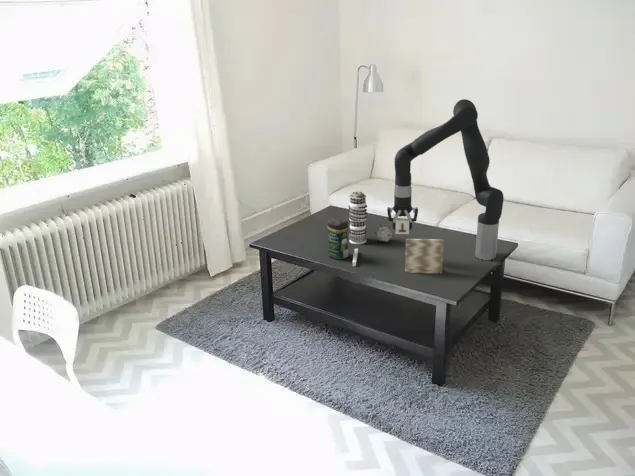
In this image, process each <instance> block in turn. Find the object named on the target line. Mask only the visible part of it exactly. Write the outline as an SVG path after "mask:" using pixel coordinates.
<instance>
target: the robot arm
mask: <svg viewBox="0 0 635 476" xmlns="http://www.w3.org/2000/svg"><path fill="white" fill-rule="evenodd" d="M452 113H453V116H452V117H451V118H450V119H448V120H447V121H446V122H444V123H443V124H441V125H439V126H437V127H435V128H434V127H433V128H431V129H429V130H426V131H425V132H424V133H422V134H420V135H419V136H418V137H417V138H415V139H414V140H413V141H412V142H410V143H408V144H406V145H405V146H403V147H401V148H400V149H399V150H397V152H396V154H395V156H394V173H395V174H394V175H395V176H394V190H393V192H394V193H393V195H394V196H393V197H394V200H393V202H394V204H393V207H391V206H389V207H388V206H387V209H386V210H387V218H388V221H389V222H392V229H393V231H396V220H397V218H398V217H407V218H408V220H409V231H411V230H413V223H415V222H417V218H418V213H419V208H418V206H417V207H413V206H412V195H413V194H412V191H413V190H412V174H411V167H412V166H411V165H412V164H411V162H412V161H413V160H414V159H416V158H417V157H418V156H421V155H422V156H423V154H426V152H428V151H429V150H431V149H433V148H434V147H435V146H437V145H439V144H440V143H441V142H443V141H444V140H446V139H448V138H450V137H452V136H453V135H456V134H458V133H459V132H460V134H461V140H462V145H463V151H464V155H465V159H466V162H467V166H468V168H469V172H470V175H471V179H472V183H473V184H472V185H473V189H474V190H473V191H474V195H475V200H476V203H478V204H479V205H481V206H483V207H485V210H484V211H485V212H481V213H479V215H478V216H477V227H476V228H477V229H476V241H475V242H476V243H475V253H474V254H475V255H474V256H476V257H477V258H476V257H475V258H476V259H478V258H479V259H478V260H481V259H483V260H482V261H492V260H491V259H493V260H495V259H496V258H497V250H498V247H497V246H498V239H499V238H498V235H499V226H500V219H501V217H502V213H503V207H504V206H503V205H504V200H505V199H504V197H505V196H504V193H503V191H502V190H500V189H498V188H496V187H493V186H491V184H490V183H489V179H488V175H487V173H488V170H489V167H490V155H489V152H488V149H487V145H486V142H485V141H484V138H483V135H482V133H481V131H480V128H479V124H478V116H479V113H478V111H477V107H476V105H475V104H474V103H473V102H472V101H471V100H469V99H463V98H462V99H460V100H458V101H457V102H456V103H455V104H454V107H453V111H452ZM393 211H394V213H395V214H394V216H393V217H392V213H393ZM412 211H413V212H412ZM411 212H412V213H414V214H413V217H412V216H411V214H410V213H411ZM494 258H495V259H494Z"/></svg>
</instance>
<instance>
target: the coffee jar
mask: <svg viewBox="0 0 635 476" xmlns="http://www.w3.org/2000/svg"><path fill="white" fill-rule="evenodd" d="M327 232H328V242H327V243H328V244H327V245H328V246H327V256H328V257H330V258H332V259H336V260H345V259H347V258H348V257H349V253H350V252H349V241H348V239H349V238H348V232H349V222H348V221H347V220H344V219H342V218H338V217H335V216H334V217H332V218H329V219H328V220H327Z"/></svg>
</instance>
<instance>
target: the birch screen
mask: <svg viewBox="0 0 635 476" xmlns="http://www.w3.org/2000/svg"><path fill="white" fill-rule="evenodd" d="M444 241H445V240H444V239H443V238H442V239H440V238H436V239H435V238H405V255H404V256H405V261H404V263H405V264H404V273H407V274H411V273H412V274H439V273H440V275H442V274H443V262H444V261H443V258H444Z"/></svg>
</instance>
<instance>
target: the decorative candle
mask: <svg viewBox="0 0 635 476" xmlns="http://www.w3.org/2000/svg"><path fill="white" fill-rule="evenodd" d="M366 197H367V195H366V194H365V193H364V192H362V191H354V192H352V193H351V194H350V195H349V205H348V219H349V221H350V222H349V227H348V232H349V234H348V236H349V237H348V239H349V241H348V242H349V243H350V244H354V245H362V244H365V243H366V242H367V224H366V220H367V218H368V216H366V215H367V214H368V209H367V208H368V205H367V200H366Z"/></svg>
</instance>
